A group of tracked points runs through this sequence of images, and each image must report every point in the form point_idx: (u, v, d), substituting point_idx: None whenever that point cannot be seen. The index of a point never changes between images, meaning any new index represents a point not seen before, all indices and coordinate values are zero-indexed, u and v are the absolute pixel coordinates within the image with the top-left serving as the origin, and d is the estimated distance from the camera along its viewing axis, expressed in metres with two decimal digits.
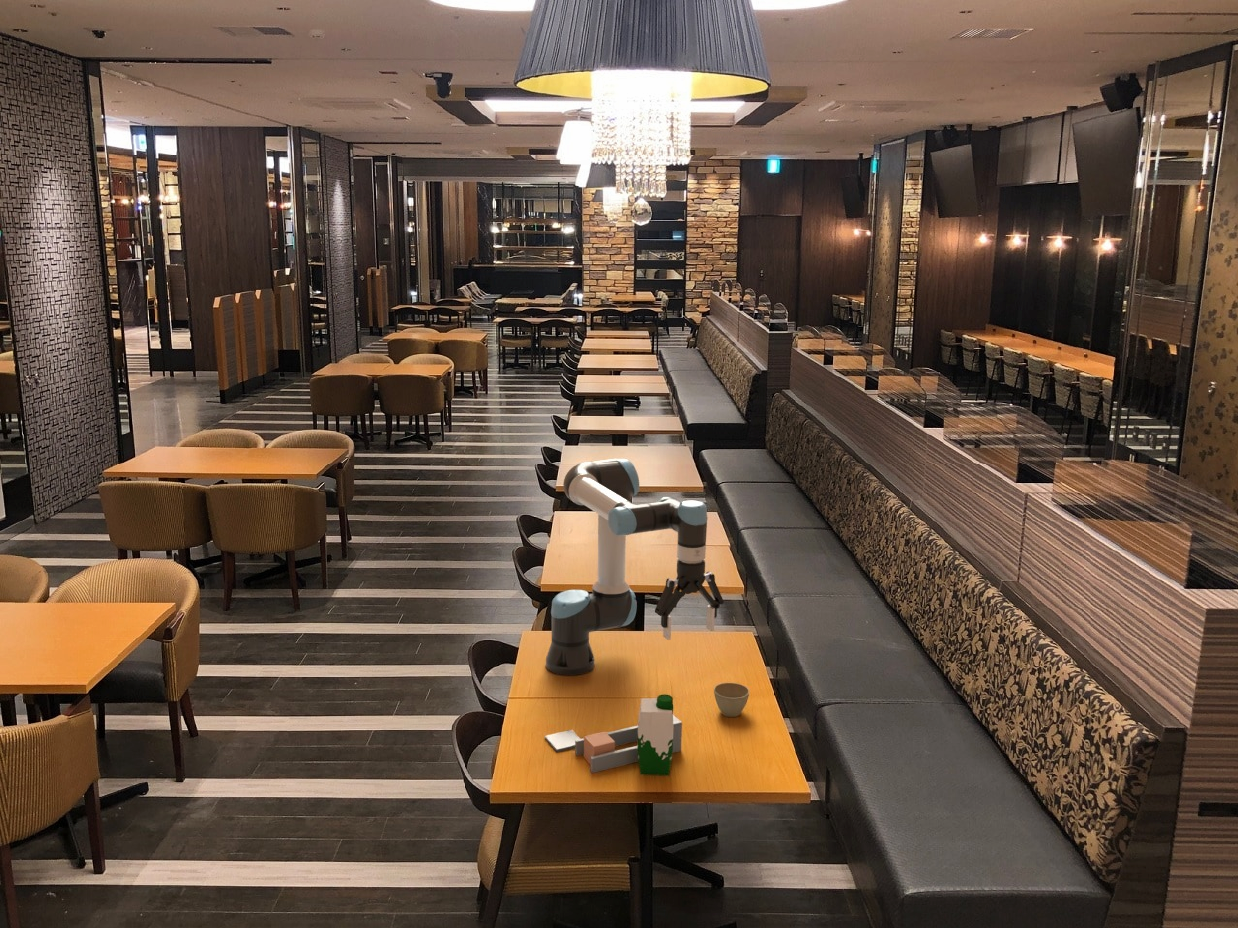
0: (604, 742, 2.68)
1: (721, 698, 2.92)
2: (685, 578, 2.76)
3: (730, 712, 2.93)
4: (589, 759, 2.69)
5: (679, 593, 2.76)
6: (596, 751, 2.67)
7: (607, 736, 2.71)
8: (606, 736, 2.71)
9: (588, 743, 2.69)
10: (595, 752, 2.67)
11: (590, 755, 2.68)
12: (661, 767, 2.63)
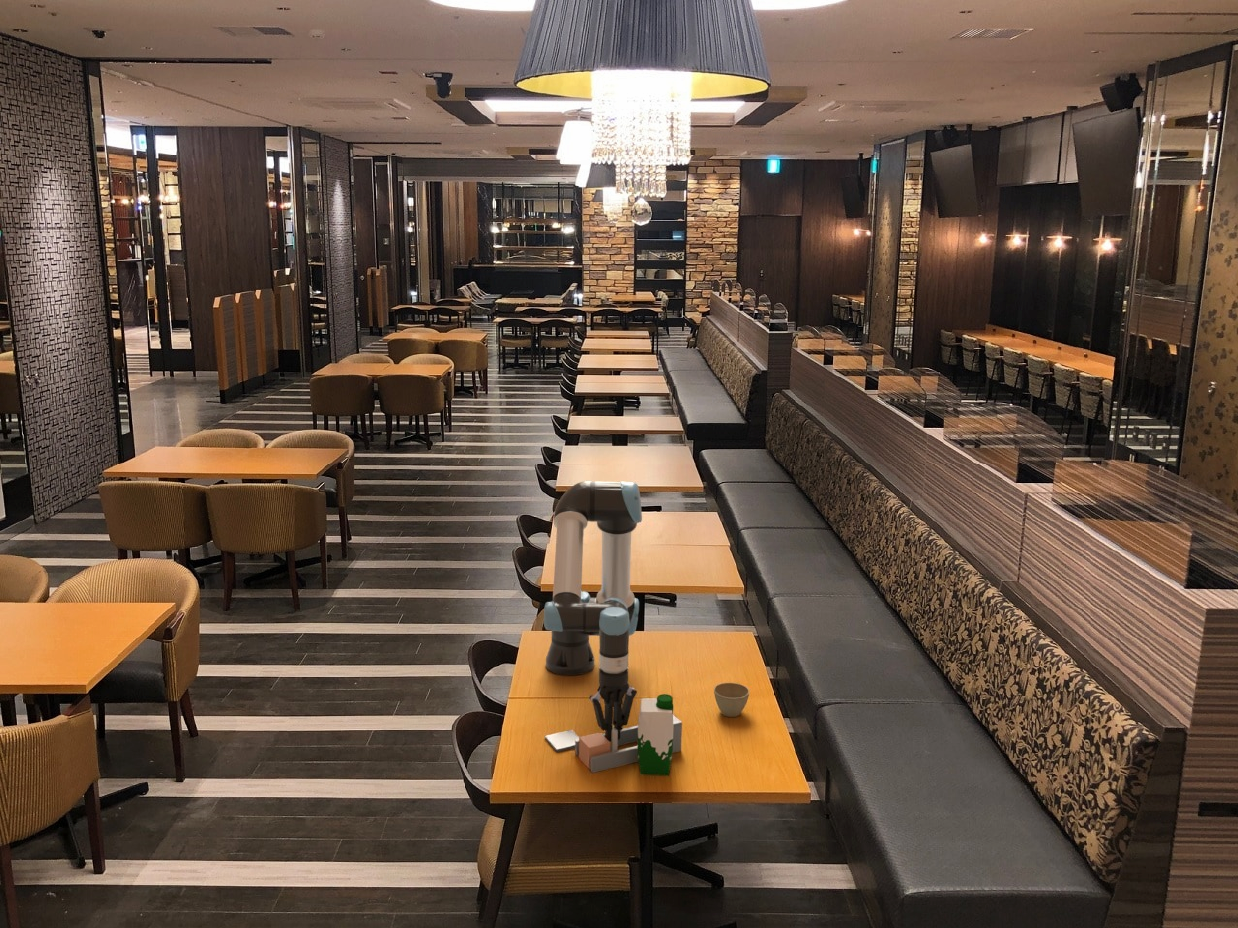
0: (599, 743, 2.67)
1: (721, 698, 2.92)
2: (604, 687, 2.66)
3: (730, 712, 2.93)
4: (584, 760, 2.69)
5: (608, 706, 2.67)
6: (592, 752, 2.66)
7: (602, 737, 2.70)
8: (601, 736, 2.71)
9: (583, 744, 2.68)
10: (590, 753, 2.66)
11: (585, 756, 2.68)
12: (661, 767, 2.63)
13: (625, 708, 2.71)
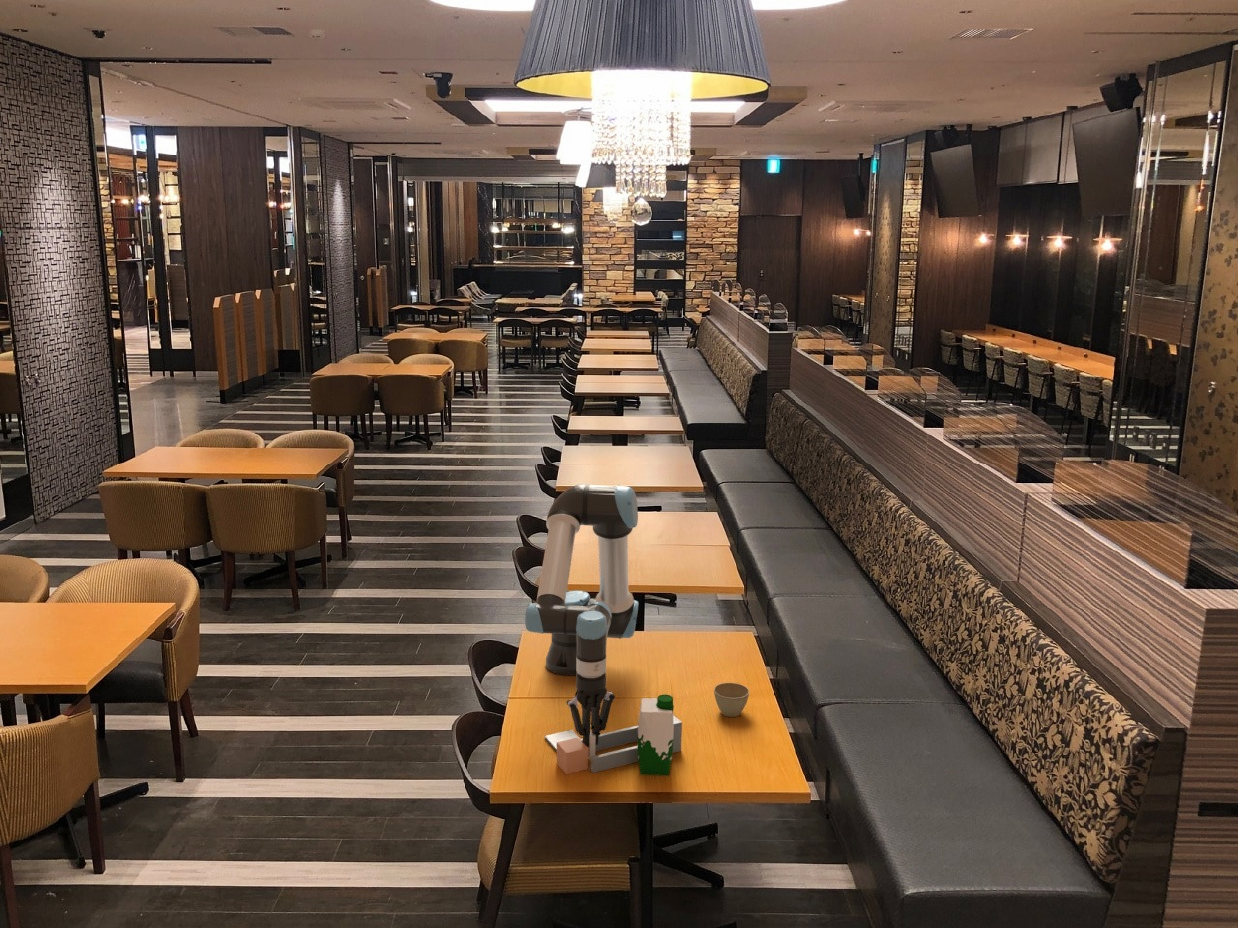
0: (576, 748, 2.65)
1: (721, 698, 2.92)
2: (581, 692, 2.63)
3: (730, 712, 2.93)
4: (562, 766, 2.66)
5: (586, 711, 2.65)
6: (569, 758, 2.63)
7: (580, 742, 2.68)
8: (579, 742, 2.68)
9: (561, 750, 2.65)
10: (568, 759, 2.63)
11: (563, 761, 2.65)
12: (661, 767, 2.63)
13: (603, 713, 2.68)
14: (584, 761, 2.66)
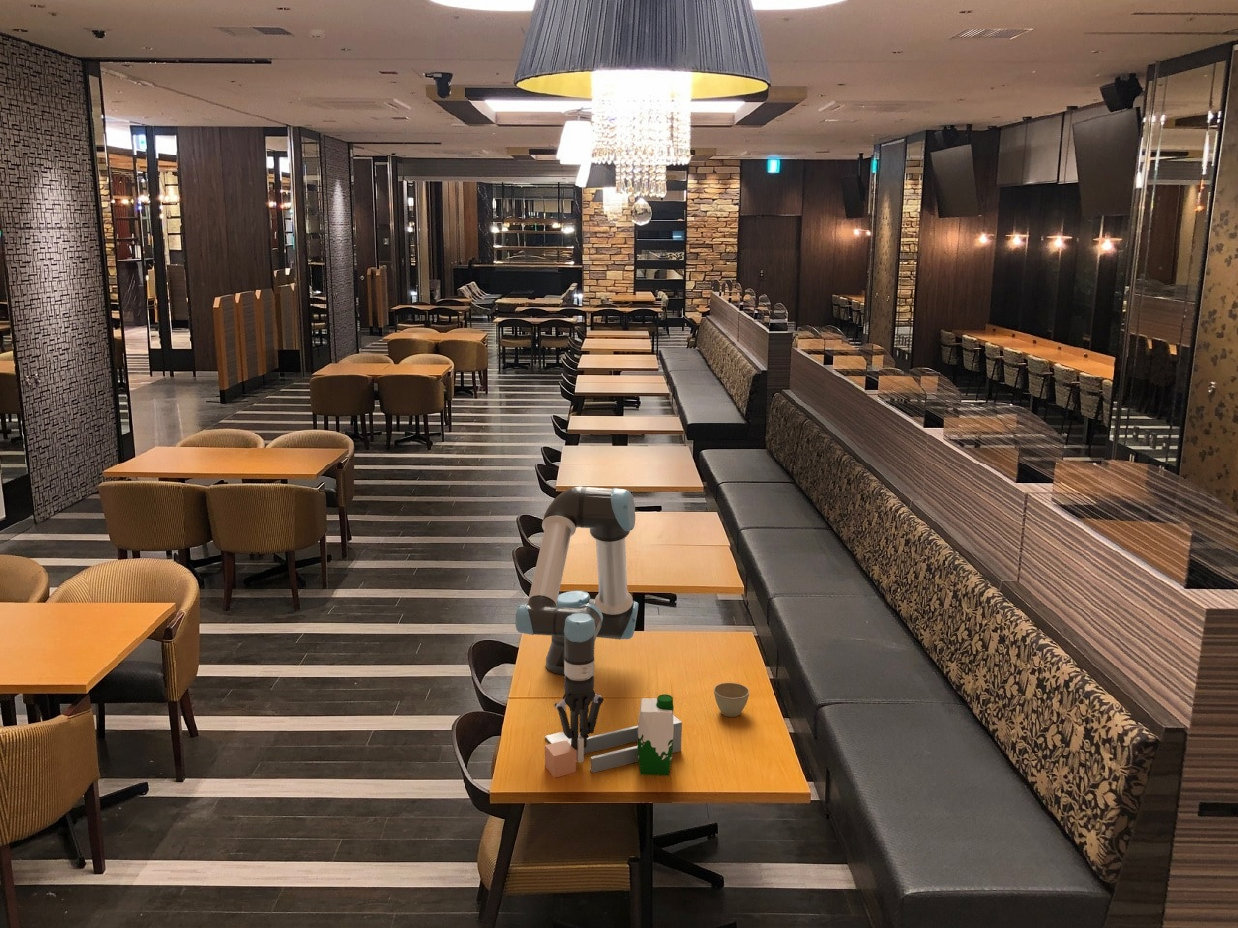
0: (564, 751, 2.63)
1: (721, 698, 2.92)
2: (569, 695, 2.61)
3: (730, 712, 2.93)
4: (550, 768, 2.64)
5: (574, 714, 2.63)
6: (557, 761, 2.62)
7: (568, 745, 2.66)
8: (567, 744, 2.66)
9: (549, 752, 2.64)
10: (555, 762, 2.62)
11: (551, 764, 2.63)
12: (661, 767, 2.63)
13: (591, 716, 2.67)
14: (572, 764, 2.64)
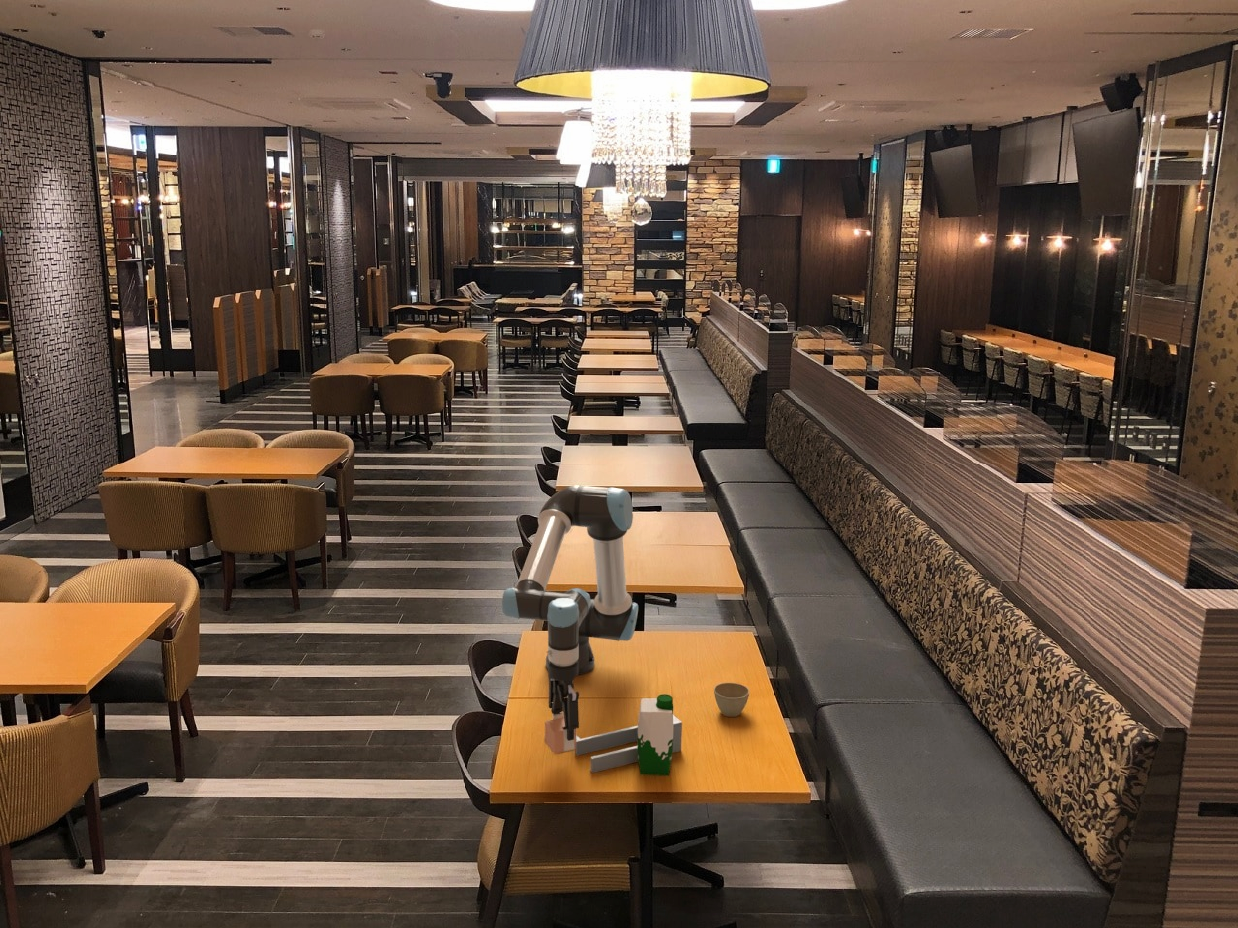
0: None
1: (721, 698, 2.92)
2: None
3: (730, 712, 2.93)
4: (550, 745, 2.63)
5: None
6: (557, 737, 2.61)
7: None
8: None
9: (549, 729, 2.63)
10: (556, 738, 2.61)
11: (551, 741, 2.62)
12: (661, 767, 2.63)
13: None
14: None
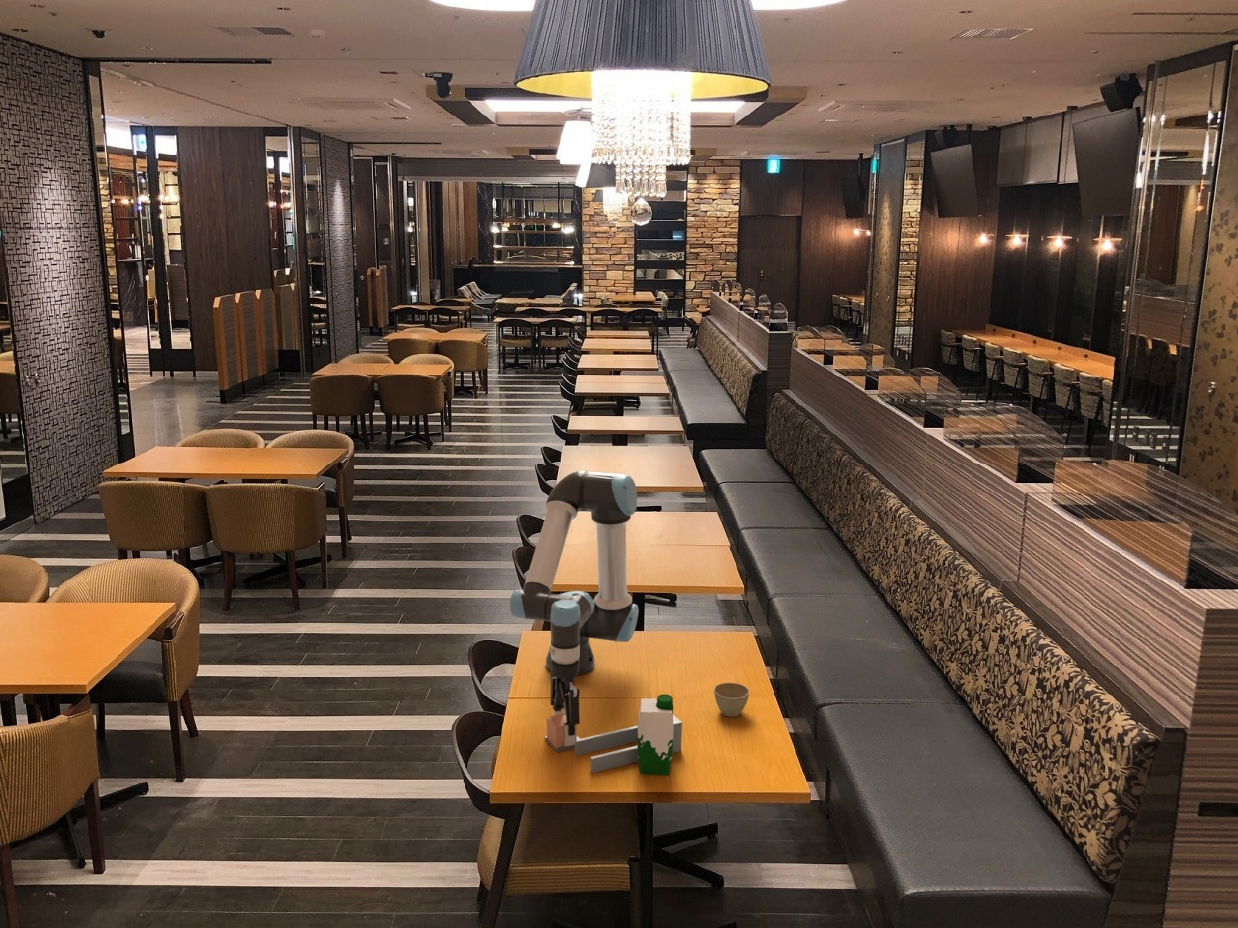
0: None
1: (721, 698, 2.92)
2: None
3: (730, 712, 2.93)
4: (551, 739, 2.77)
5: None
6: (558, 732, 2.74)
7: None
8: None
9: (550, 724, 2.77)
10: (557, 732, 2.74)
11: (552, 735, 2.76)
12: (661, 767, 2.63)
13: None
14: None
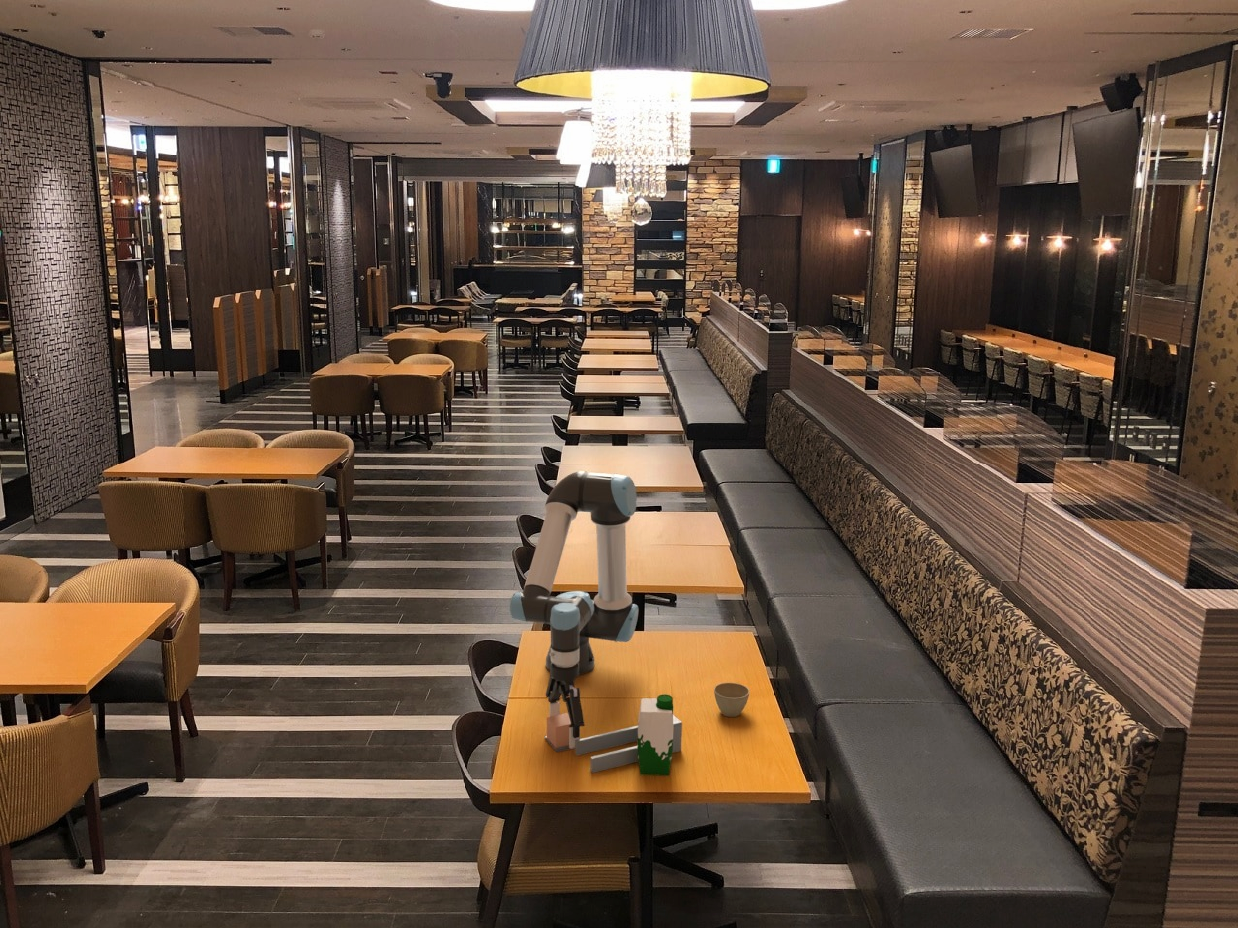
0: (566, 722, 2.76)
1: (721, 698, 2.92)
2: None
3: (730, 712, 2.93)
4: (551, 739, 2.77)
5: None
6: (558, 732, 2.74)
7: None
8: (568, 717, 2.79)
9: (550, 724, 2.77)
10: (557, 732, 2.74)
11: (552, 735, 2.76)
12: (661, 767, 2.63)
13: None
14: None
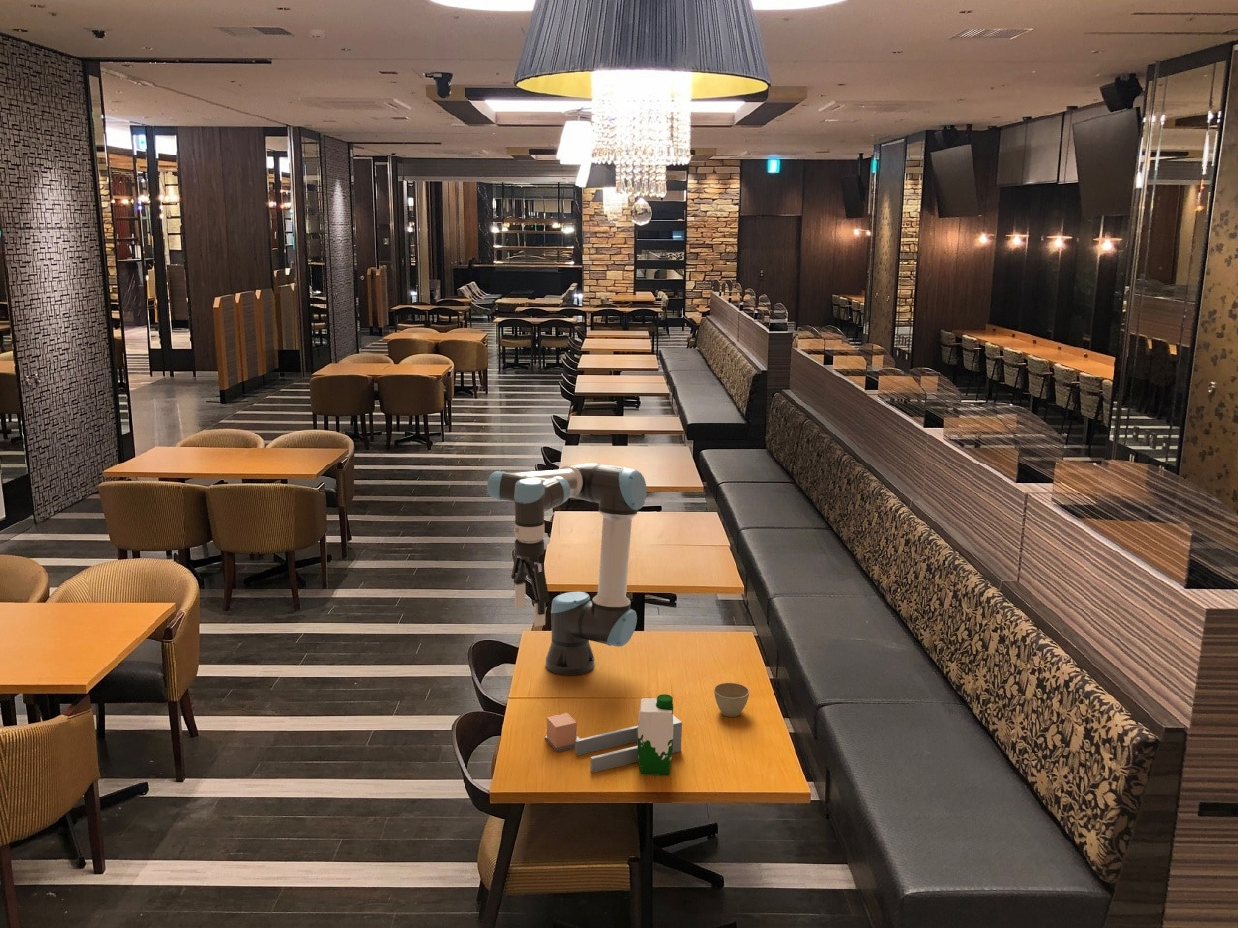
0: (566, 722, 2.76)
1: (721, 698, 2.92)
2: None
3: (730, 712, 2.93)
4: (551, 739, 2.77)
5: None
6: (558, 732, 2.74)
7: (569, 717, 2.79)
8: (568, 717, 2.79)
9: (550, 724, 2.77)
10: (557, 732, 2.74)
11: (552, 735, 2.76)
12: (661, 767, 2.63)
13: None
14: (573, 735, 2.77)
